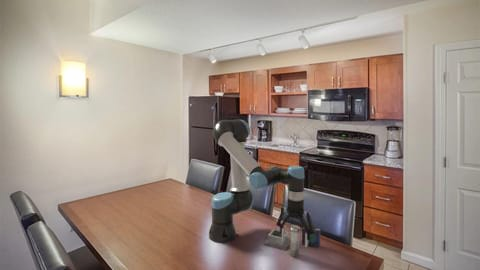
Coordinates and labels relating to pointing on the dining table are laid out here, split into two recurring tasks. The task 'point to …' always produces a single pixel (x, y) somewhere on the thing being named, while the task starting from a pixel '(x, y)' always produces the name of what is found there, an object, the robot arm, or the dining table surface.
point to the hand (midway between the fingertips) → (294, 243)
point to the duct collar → (277, 240)
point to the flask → (312, 238)
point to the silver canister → (294, 240)
